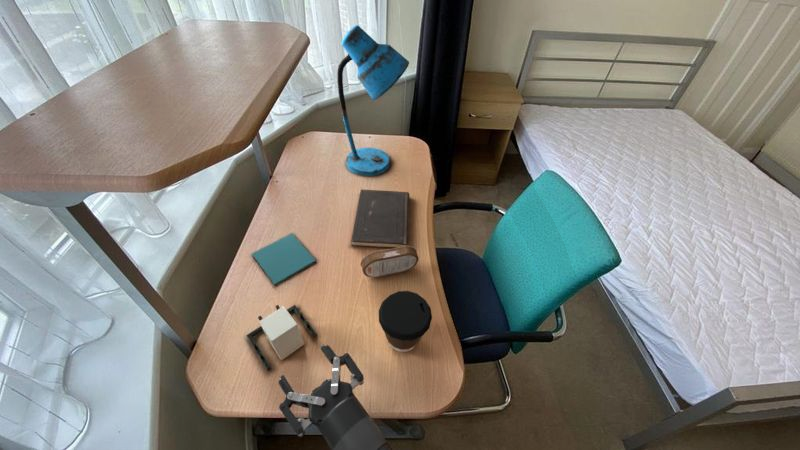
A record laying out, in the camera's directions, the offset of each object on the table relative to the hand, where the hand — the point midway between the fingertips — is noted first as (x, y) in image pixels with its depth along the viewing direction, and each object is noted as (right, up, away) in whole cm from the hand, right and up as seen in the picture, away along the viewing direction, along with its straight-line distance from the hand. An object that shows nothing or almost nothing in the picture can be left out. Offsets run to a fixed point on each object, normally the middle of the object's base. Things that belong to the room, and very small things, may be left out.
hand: (302, 361), depth 62 cm
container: (-7, 0, +10) cm, 12 cm away
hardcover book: (+13, +27, +39) cm, 49 cm away
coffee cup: (+19, 0, +12) cm, 22 cm away
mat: (-13, +17, +27) cm, 34 cm away
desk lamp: (+9, +49, +60) cm, 78 cm away
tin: (+16, +13, +25) cm, 32 cm away
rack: (-8, +1, +11) cm, 13 cm away
